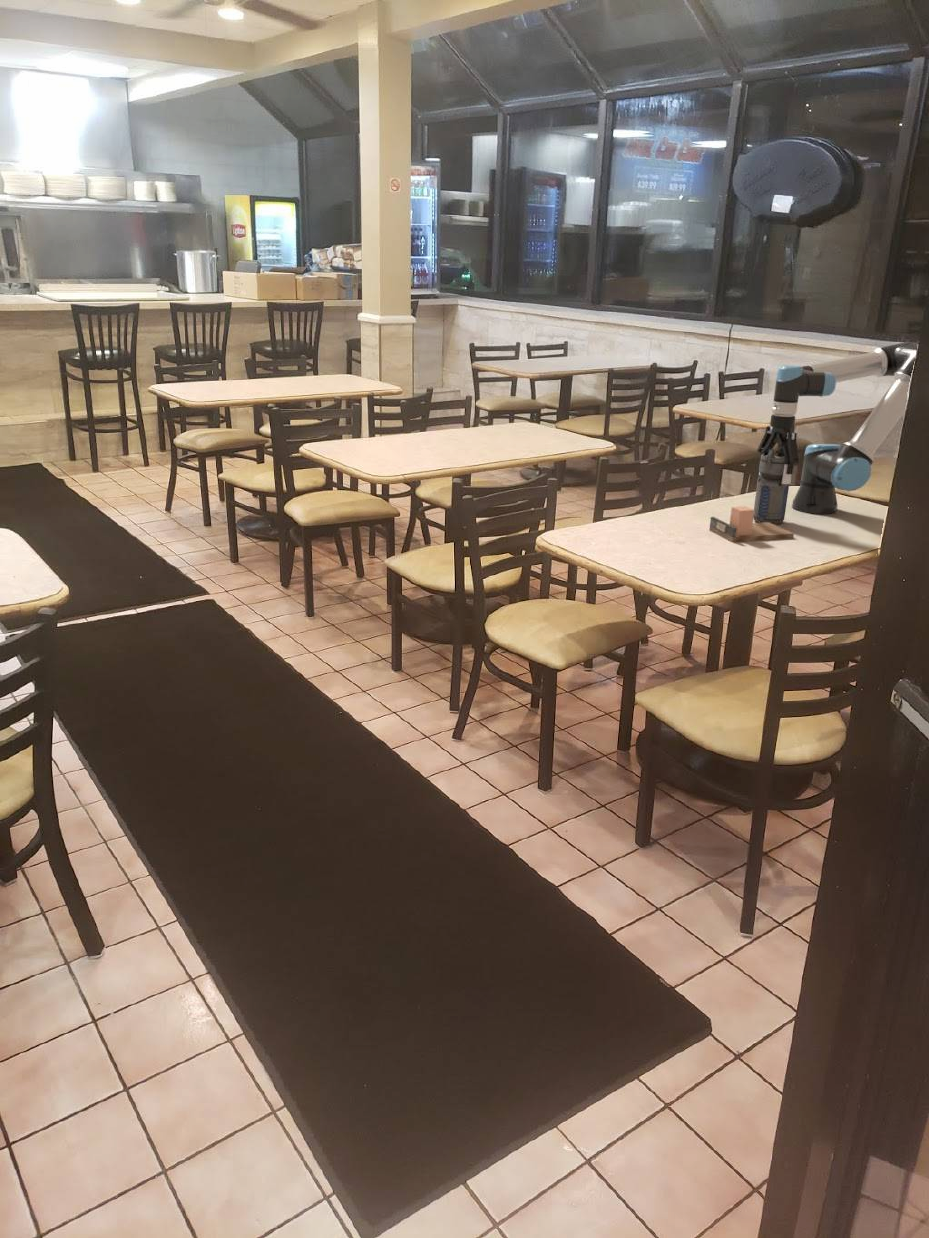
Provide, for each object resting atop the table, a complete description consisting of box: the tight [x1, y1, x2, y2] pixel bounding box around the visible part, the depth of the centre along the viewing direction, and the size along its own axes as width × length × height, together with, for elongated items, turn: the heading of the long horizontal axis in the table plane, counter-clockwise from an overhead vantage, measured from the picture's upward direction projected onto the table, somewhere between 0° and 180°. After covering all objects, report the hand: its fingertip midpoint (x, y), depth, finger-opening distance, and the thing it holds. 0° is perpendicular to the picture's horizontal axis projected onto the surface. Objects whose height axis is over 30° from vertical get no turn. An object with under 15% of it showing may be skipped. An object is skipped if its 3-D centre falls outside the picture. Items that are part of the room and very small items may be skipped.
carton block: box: [729, 505, 754, 536], centre depth 300 cm, size 5×5×8 cm
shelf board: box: [708, 516, 795, 543], centre depth 305 cm, size 22×14×4 cm, turn 106°
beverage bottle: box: [753, 447, 790, 526], centre depth 317 cm, size 10×13×25 cm
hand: (774, 479), depth 316 cm, fingers open, 13 cm apart
